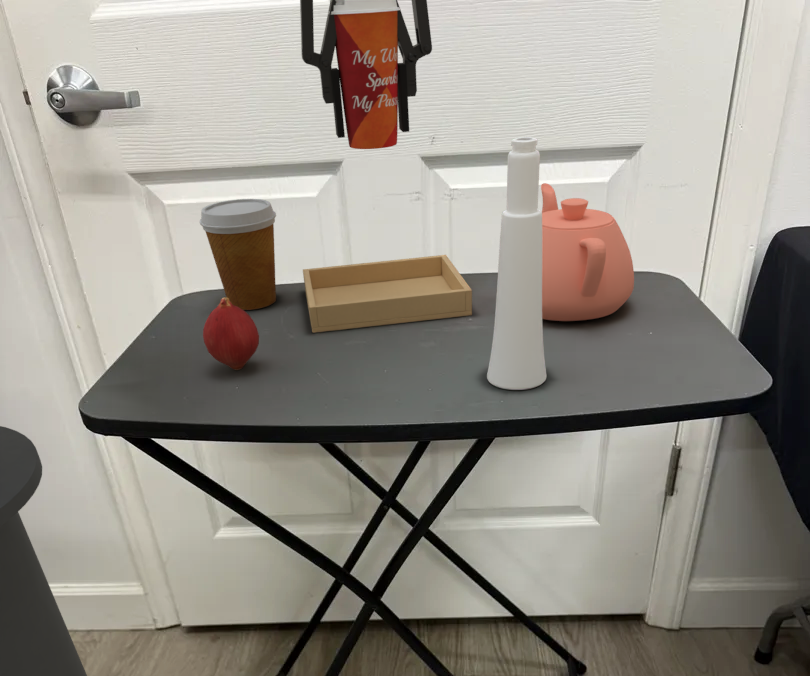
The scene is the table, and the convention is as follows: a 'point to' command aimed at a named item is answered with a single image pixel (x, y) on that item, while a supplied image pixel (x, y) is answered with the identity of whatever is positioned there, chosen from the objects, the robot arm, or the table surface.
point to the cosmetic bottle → (519, 277)
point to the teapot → (582, 261)
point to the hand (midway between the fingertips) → (372, 132)
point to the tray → (385, 293)
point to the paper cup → (368, 70)
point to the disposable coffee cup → (243, 249)
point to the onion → (230, 335)
